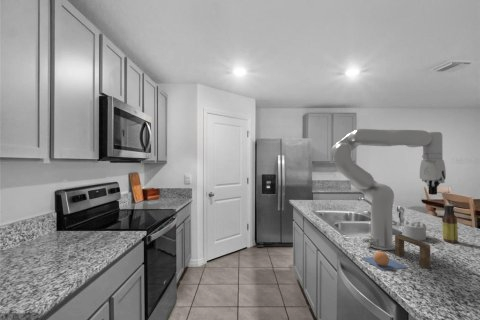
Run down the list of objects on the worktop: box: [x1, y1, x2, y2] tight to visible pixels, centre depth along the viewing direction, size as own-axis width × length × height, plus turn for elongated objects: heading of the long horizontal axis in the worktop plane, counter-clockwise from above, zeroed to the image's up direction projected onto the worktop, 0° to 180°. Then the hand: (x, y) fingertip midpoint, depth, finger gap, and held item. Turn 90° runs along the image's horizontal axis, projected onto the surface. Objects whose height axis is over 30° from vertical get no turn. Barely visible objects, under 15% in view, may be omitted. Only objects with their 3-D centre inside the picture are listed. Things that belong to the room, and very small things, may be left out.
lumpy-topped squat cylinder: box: [403, 220, 427, 241], centre depth 138 cm, size 10×13×9 cm
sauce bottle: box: [441, 203, 459, 244], centre depth 130 cm, size 7×6×20 cm
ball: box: [373, 251, 389, 266], centre depth 100 cm, size 6×6×6 cm
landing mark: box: [361, 256, 408, 271], centre depth 103 cm, size 12×12×1 cm
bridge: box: [394, 234, 431, 269], centre depth 105 cm, size 3×14×9 cm, turn 10°
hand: (432, 194), depth 119 cm, fingers closed
